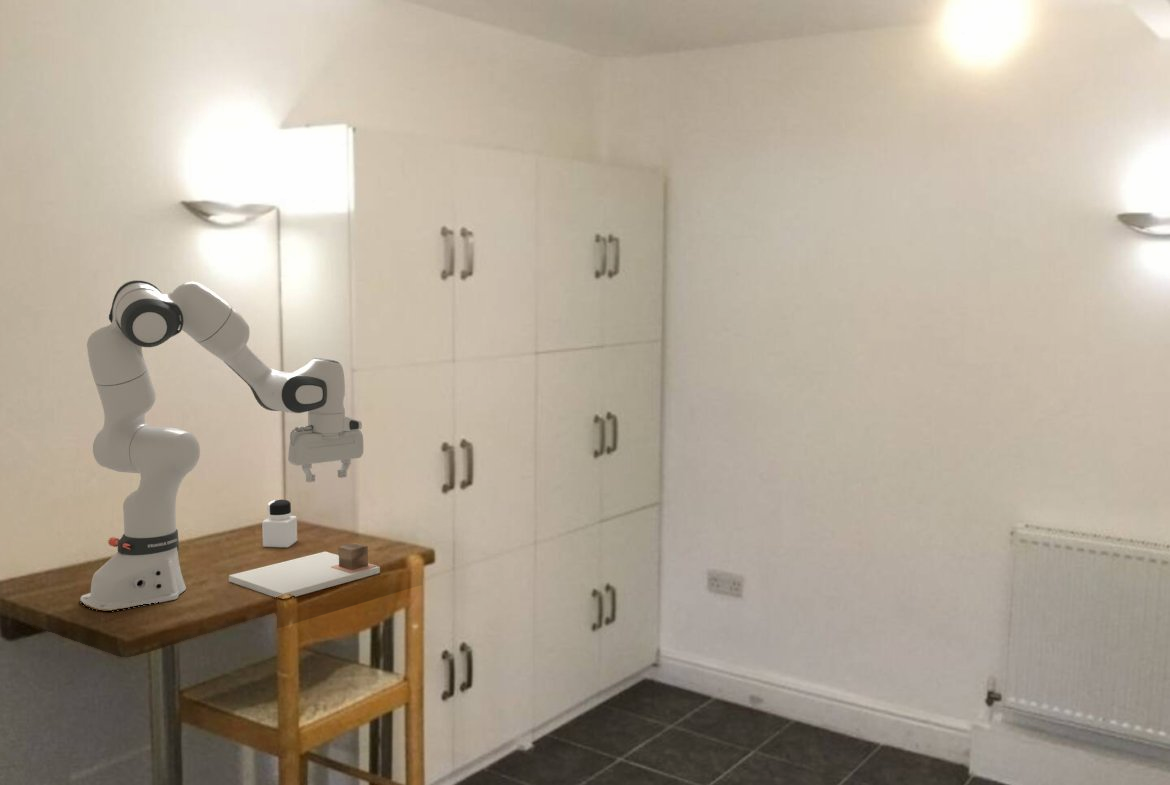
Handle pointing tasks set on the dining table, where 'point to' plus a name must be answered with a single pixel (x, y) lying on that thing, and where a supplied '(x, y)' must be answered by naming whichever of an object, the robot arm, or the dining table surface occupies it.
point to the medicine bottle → (279, 525)
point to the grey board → (301, 575)
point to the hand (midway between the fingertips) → (326, 479)
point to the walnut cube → (353, 556)
